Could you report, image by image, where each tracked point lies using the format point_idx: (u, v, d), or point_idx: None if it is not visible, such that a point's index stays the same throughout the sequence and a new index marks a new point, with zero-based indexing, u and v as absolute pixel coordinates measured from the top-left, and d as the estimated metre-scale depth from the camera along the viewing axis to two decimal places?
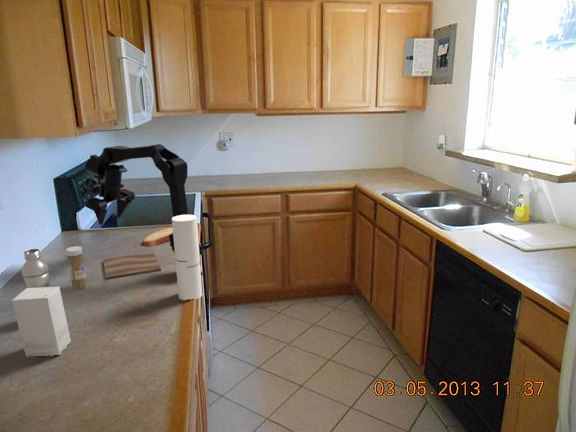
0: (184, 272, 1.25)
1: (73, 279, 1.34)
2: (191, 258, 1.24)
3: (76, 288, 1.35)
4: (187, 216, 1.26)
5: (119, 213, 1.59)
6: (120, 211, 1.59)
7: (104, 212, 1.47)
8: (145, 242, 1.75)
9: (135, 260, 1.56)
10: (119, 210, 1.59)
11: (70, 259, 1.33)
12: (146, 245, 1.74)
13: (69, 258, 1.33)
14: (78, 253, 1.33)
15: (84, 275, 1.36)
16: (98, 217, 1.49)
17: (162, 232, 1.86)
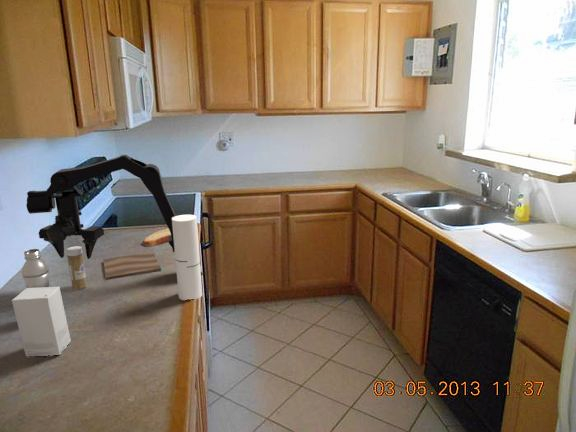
0: (184, 272, 1.25)
1: (73, 279, 1.34)
2: (191, 258, 1.24)
3: (76, 288, 1.35)
4: (187, 216, 1.26)
5: (62, 252, 1.35)
6: (61, 248, 1.35)
7: None
8: (145, 242, 1.75)
9: (135, 260, 1.56)
10: (61, 248, 1.35)
11: (70, 259, 1.33)
12: (146, 245, 1.74)
13: (69, 258, 1.33)
14: (78, 253, 1.33)
15: (84, 275, 1.36)
16: (90, 249, 1.33)
17: (162, 232, 1.86)
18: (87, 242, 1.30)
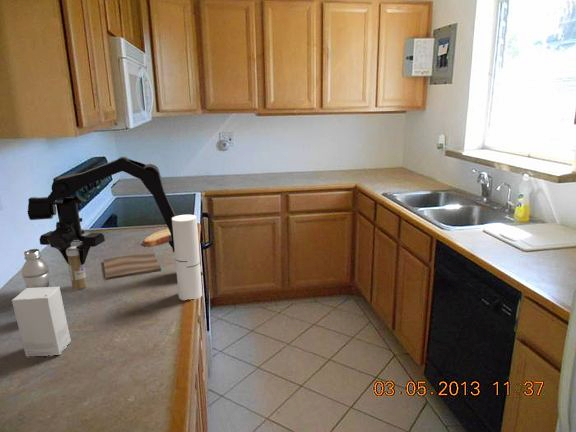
0: (184, 272, 1.25)
1: (73, 279, 1.34)
2: (191, 258, 1.24)
3: (76, 288, 1.35)
4: (187, 216, 1.26)
5: None
6: None
7: None
8: (145, 242, 1.75)
9: (135, 260, 1.56)
10: None
11: (70, 259, 1.33)
12: (146, 245, 1.74)
13: (69, 258, 1.33)
14: (78, 253, 1.33)
15: (84, 275, 1.36)
16: (84, 255, 1.34)
17: (163, 232, 1.86)
18: (81, 248, 1.31)
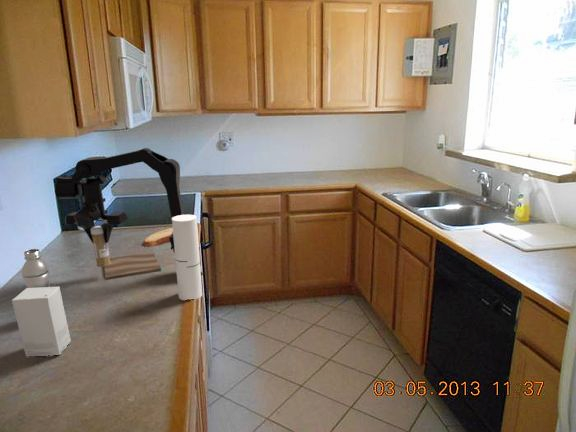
0: (184, 272, 1.25)
1: (98, 257, 1.41)
2: (191, 258, 1.24)
3: (101, 266, 1.41)
4: (187, 216, 1.26)
5: None
6: None
7: None
8: (145, 242, 1.74)
9: (135, 260, 1.56)
10: None
11: (94, 237, 1.39)
12: (146, 245, 1.74)
13: (94, 237, 1.39)
14: (102, 232, 1.39)
15: (108, 253, 1.42)
16: (108, 234, 1.40)
17: (163, 232, 1.86)
18: (105, 226, 1.37)
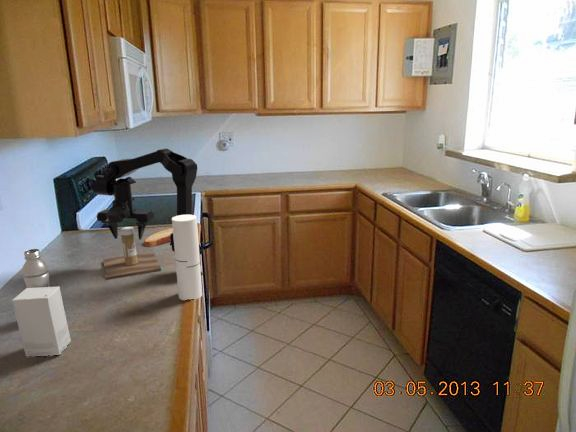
0: (184, 272, 1.25)
1: (126, 256, 1.51)
2: (191, 258, 1.24)
3: (129, 264, 1.51)
4: (187, 216, 1.26)
5: (116, 234, 1.51)
6: (115, 230, 1.51)
7: None
8: (146, 242, 1.74)
9: None
10: (115, 230, 1.51)
11: (123, 238, 1.49)
12: (147, 245, 1.74)
13: (123, 237, 1.49)
14: (131, 232, 1.49)
15: (135, 253, 1.52)
16: (142, 231, 1.49)
17: (164, 232, 1.85)
18: (140, 224, 1.46)
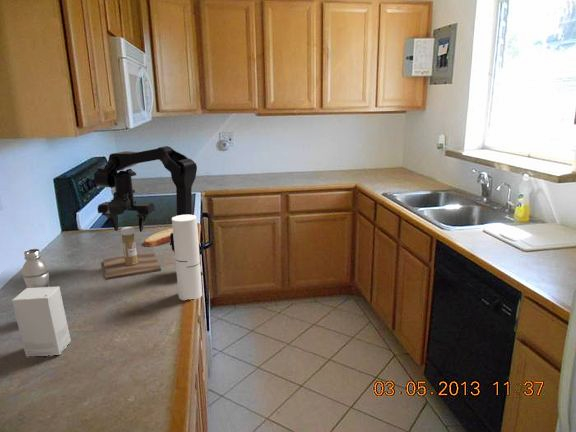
0: (184, 272, 1.25)
1: (126, 256, 1.51)
2: (191, 258, 1.24)
3: (129, 264, 1.51)
4: (187, 216, 1.26)
5: (116, 226, 1.52)
6: (116, 222, 1.52)
7: None
8: (146, 242, 1.74)
9: None
10: (116, 223, 1.51)
11: (124, 237, 1.49)
12: (147, 245, 1.74)
13: (123, 237, 1.49)
14: (131, 232, 1.49)
15: (135, 253, 1.52)
16: (142, 223, 1.50)
17: (164, 233, 1.85)
18: (141, 216, 1.47)
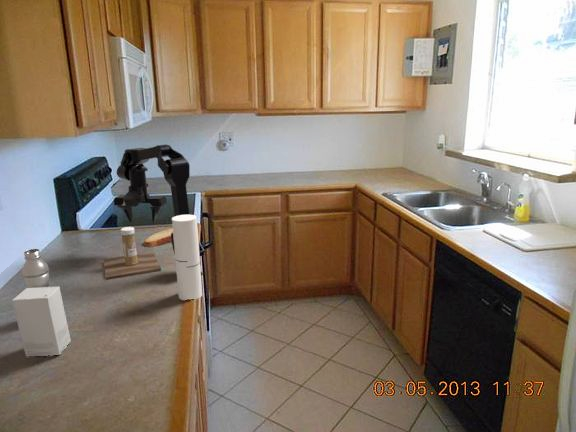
0: (184, 272, 1.25)
1: (126, 256, 1.51)
2: (191, 258, 1.24)
3: (129, 264, 1.51)
4: (187, 216, 1.26)
5: (131, 217, 1.62)
6: (130, 214, 1.62)
7: None
8: (146, 242, 1.74)
9: None
10: (130, 214, 1.62)
11: (124, 237, 1.49)
12: (147, 246, 1.73)
13: (123, 237, 1.49)
14: (131, 232, 1.49)
15: (135, 253, 1.52)
16: (155, 215, 1.60)
17: (164, 233, 1.85)
18: (154, 208, 1.57)
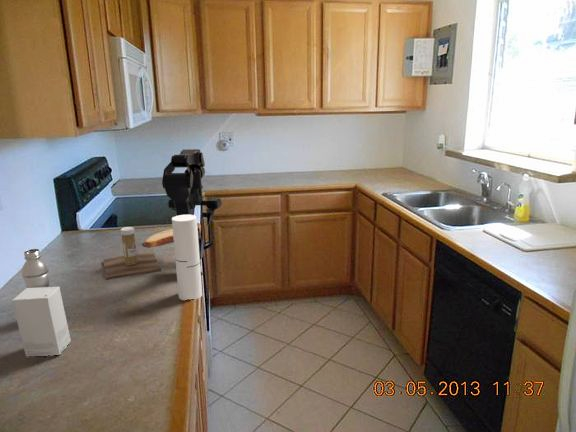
0: (184, 272, 1.25)
1: (126, 256, 1.51)
2: (191, 258, 1.24)
3: (129, 264, 1.51)
4: (187, 216, 1.26)
5: None
6: None
7: None
8: (146, 243, 1.74)
9: None
10: None
11: (124, 237, 1.49)
12: (147, 246, 1.73)
13: (123, 237, 1.49)
14: (131, 232, 1.49)
15: (135, 253, 1.52)
16: (210, 217, 1.56)
17: (165, 233, 1.85)
18: (210, 211, 1.53)
